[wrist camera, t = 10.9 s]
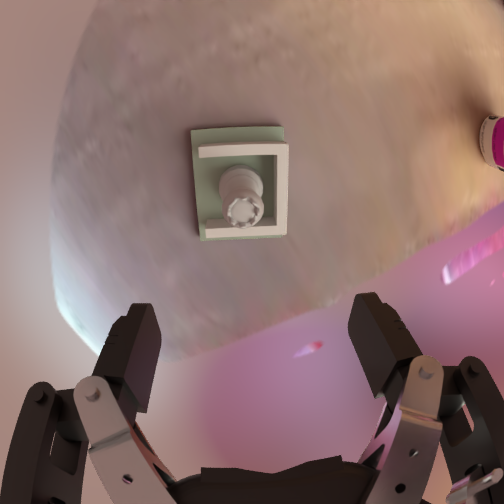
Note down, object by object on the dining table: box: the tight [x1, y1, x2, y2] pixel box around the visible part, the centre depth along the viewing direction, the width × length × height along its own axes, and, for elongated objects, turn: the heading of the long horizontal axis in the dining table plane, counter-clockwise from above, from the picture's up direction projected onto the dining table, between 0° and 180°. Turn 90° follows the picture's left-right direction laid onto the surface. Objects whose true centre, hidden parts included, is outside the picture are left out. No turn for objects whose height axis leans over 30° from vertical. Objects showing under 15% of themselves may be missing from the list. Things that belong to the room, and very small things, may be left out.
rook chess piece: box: [219, 165, 264, 229], centre depth 23 cm, size 4×4×8 cm
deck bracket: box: [191, 126, 288, 241], centre depth 26 cm, size 12×9×4 cm
